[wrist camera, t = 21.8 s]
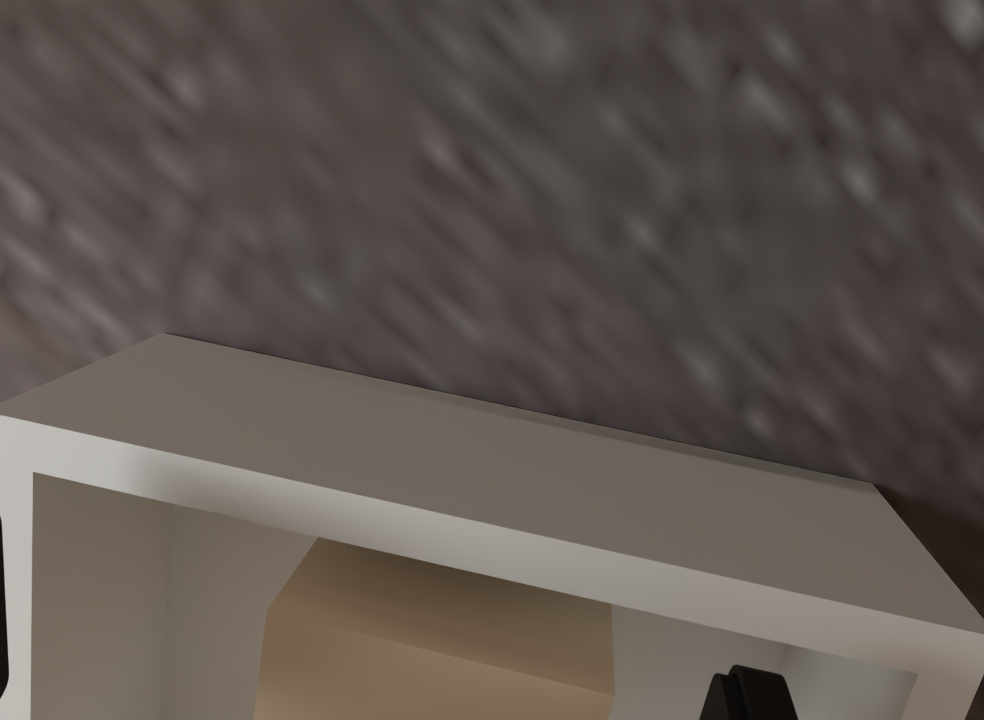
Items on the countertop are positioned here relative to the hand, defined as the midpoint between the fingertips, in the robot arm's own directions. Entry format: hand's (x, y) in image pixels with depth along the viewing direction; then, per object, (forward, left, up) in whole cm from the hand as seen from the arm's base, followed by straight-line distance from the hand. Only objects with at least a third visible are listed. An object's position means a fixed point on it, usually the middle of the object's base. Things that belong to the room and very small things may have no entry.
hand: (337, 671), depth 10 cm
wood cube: (+3, +1, -6) cm, 7 cm away
